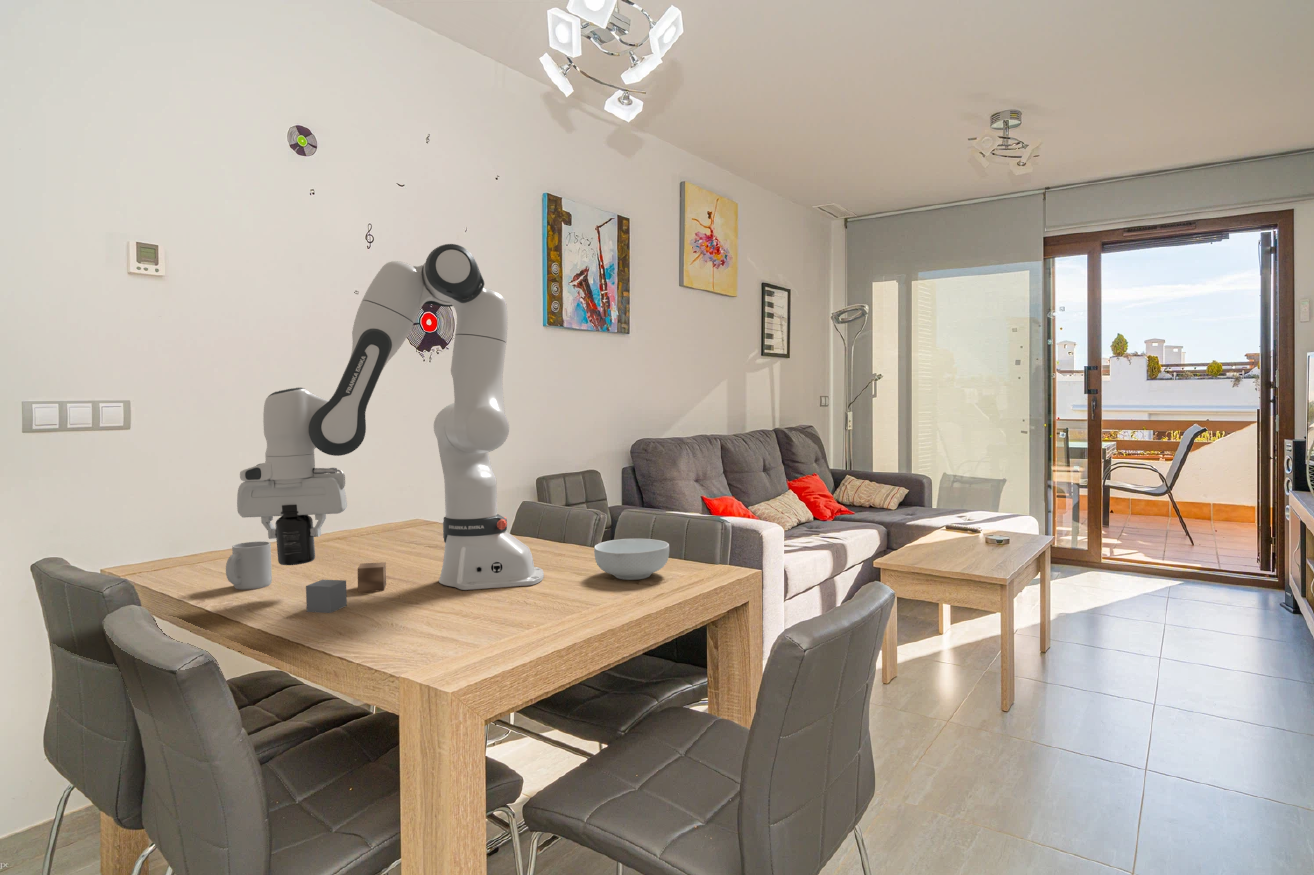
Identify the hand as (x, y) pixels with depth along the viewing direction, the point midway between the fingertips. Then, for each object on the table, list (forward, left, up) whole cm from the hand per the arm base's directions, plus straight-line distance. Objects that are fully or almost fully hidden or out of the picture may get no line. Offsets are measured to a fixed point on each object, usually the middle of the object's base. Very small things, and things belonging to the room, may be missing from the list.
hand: (295, 537), depth 149 cm
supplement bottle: (0, 0, -5) cm, 5 cm away
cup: (+14, -9, -12) cm, 20 cm away
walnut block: (-13, -5, -12) cm, 19 cm away
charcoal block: (-9, +10, -12) cm, 18 cm away
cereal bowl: (-68, -10, -12) cm, 70 cm away
